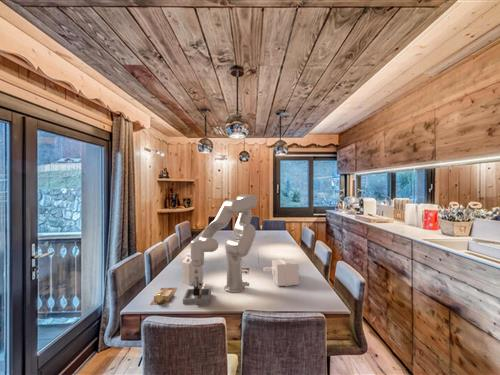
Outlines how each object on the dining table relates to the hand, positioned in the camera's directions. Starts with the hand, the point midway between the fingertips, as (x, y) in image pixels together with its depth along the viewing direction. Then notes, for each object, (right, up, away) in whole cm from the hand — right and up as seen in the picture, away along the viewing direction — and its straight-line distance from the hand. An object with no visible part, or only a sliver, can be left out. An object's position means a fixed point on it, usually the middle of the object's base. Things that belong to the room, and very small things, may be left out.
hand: (197, 291), depth 147 cm
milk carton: (-10, -5, +23) cm, 26 cm away
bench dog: (-19, -4, -6) cm, 20 cm away
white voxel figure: (+52, -4, +32) cm, 61 cm away
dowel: (0, -4, 0) cm, 4 cm away
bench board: (-20, -5, +3) cm, 21 cm away
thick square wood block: (-19, -3, 0) cm, 20 cm away
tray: (0, -5, 0) cm, 5 cm away
